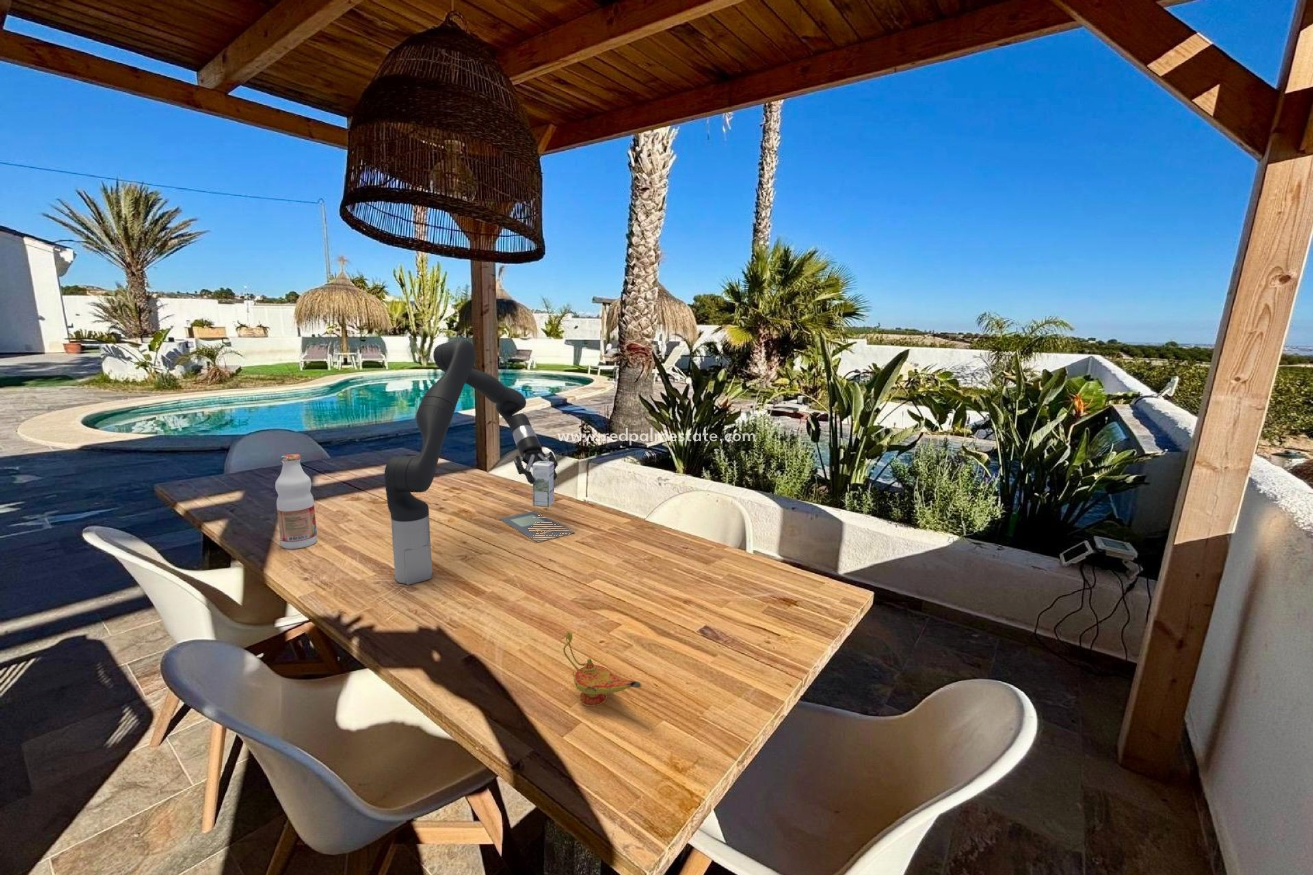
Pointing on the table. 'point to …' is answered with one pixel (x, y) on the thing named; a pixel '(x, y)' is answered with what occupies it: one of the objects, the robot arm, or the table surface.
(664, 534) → the table surface
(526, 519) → the mat
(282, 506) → the fruit juice
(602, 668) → the magic lamp
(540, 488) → the syrup box
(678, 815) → the table surface
